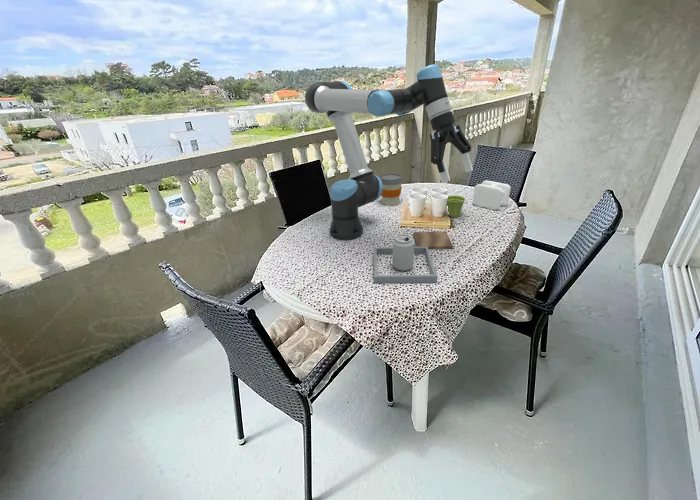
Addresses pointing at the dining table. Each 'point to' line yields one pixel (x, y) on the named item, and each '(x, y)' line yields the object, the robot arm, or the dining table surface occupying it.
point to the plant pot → (455, 205)
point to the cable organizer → (491, 194)
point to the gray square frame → (405, 278)
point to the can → (403, 252)
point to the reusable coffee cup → (391, 189)
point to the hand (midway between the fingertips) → (458, 176)
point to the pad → (433, 240)
